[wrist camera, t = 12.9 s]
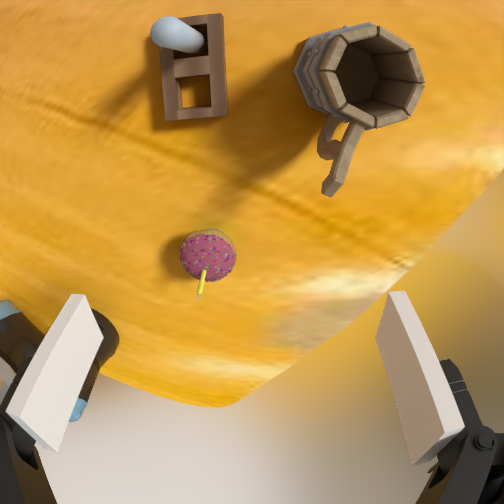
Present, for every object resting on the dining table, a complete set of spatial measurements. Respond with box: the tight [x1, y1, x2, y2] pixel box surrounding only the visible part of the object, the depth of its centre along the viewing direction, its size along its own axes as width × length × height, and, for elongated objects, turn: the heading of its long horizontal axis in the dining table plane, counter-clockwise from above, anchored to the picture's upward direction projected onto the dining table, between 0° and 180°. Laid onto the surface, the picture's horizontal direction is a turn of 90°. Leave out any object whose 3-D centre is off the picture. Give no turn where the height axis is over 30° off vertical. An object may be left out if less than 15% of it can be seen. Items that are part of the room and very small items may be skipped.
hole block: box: [159, 13, 228, 121], centre depth 36 cm, size 8×14×3 cm, turn 2°
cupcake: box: [179, 229, 236, 300], centre depth 46 cm, size 9×8×12 cm
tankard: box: [293, 22, 425, 197], centre depth 32 cm, size 20×13×15 cm, turn 159°
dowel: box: [150, 16, 207, 54], centre depth 29 cm, size 3×3×14 cm
